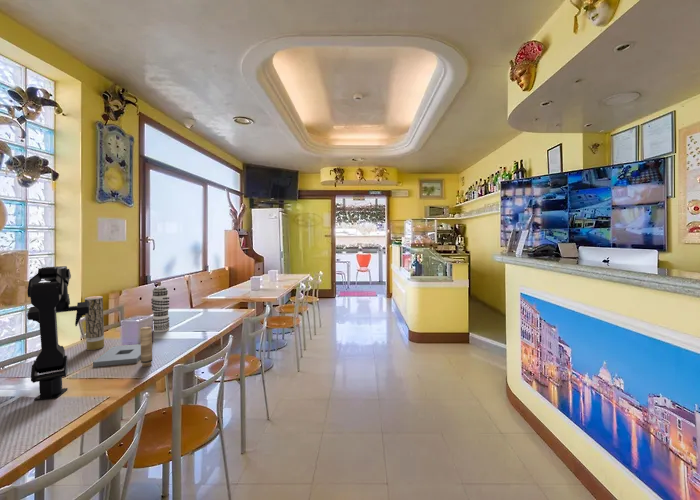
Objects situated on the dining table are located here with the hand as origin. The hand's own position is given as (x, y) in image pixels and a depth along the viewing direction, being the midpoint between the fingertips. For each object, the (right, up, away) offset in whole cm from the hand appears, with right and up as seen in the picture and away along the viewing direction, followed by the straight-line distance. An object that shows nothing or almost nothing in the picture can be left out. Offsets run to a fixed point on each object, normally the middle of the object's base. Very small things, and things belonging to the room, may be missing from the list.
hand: (61, 327), depth 135 cm
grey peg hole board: (+19, -16, +11) cm, 27 cm away
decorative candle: (+12, -14, +51) cm, 55 cm away
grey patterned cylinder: (-3, -15, +21) cm, 26 cm away
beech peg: (+35, -16, +1) cm, 39 cm away
